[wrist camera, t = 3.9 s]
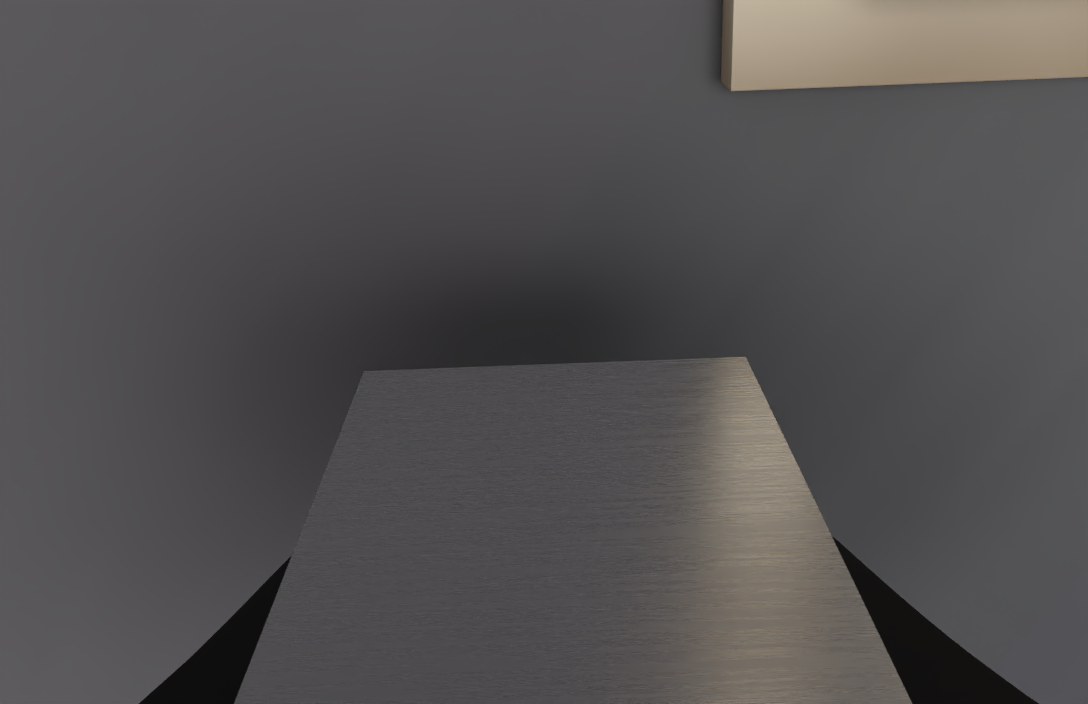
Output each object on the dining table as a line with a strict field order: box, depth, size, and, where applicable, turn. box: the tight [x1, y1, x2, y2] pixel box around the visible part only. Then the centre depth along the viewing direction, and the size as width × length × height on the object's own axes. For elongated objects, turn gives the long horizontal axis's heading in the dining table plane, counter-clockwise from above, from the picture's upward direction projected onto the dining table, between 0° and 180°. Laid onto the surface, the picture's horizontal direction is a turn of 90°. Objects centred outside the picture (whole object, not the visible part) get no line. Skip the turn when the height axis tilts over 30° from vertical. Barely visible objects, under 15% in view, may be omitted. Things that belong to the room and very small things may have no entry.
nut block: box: [234, 357, 912, 704], centre depth 10 cm, size 4×4×6 cm
